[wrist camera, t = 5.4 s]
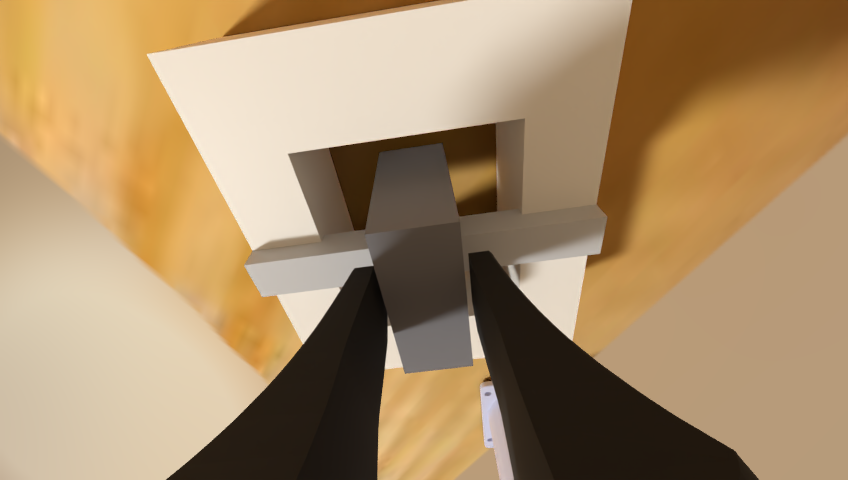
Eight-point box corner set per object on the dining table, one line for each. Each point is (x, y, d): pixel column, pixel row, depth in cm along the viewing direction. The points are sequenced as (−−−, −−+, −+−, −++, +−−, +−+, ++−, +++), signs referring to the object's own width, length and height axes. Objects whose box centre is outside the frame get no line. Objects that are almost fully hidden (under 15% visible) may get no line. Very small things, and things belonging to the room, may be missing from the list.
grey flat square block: (455, 264, 16) (473, 365, 12) (405, 271, 17) (404, 373, 12) (442, 142, 13) (460, 221, 8) (379, 152, 13) (364, 234, 9)
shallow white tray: (542, 285, 20) (578, 362, 15) (335, 311, 20) (317, 392, 16) (568, -22, 11) (657, -31, 7) (221, 37, 12) (125, 59, 8)
